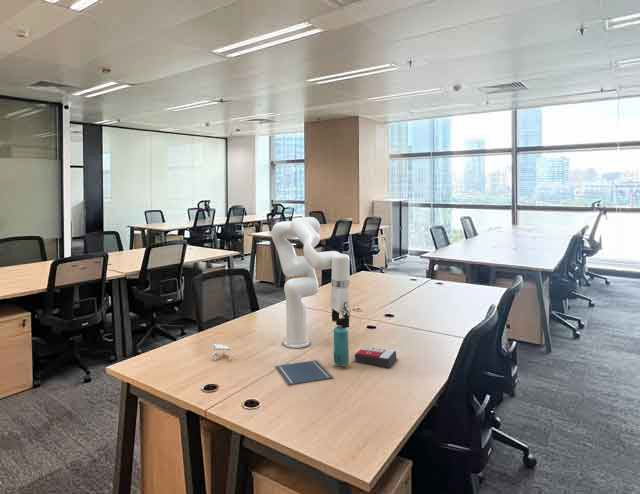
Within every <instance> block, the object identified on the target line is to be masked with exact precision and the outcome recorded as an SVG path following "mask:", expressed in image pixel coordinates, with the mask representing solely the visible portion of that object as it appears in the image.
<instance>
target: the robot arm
mask: <svg viewBox="0 0 640 494" xmlns="http://www.w3.org/2000/svg"><path fill="white" fill-rule="evenodd" d="M320 228H321V224H320V221H319V220H318V219H317V218H316V217H313V216H301V217H296V218H293V219H292V220H285V221H279V222H276V223H274V224H273V226H272V228H271V239H272V242H273V244H274V246H275V249H276V251H277V255H278V259H279V262H280V266H281V270H282V273H283V275H284V276H285V277H294V278H290V279H288V280H287V281H286V282H285V283H284V286H283V291H284V297H285V305H286V306H285V309H286V338H285V339H284V340H283V345H284V346H285V347H287V348H291V349H302V348H306V347H308V346H309V345H310V340H309V339H308V338H307V306H306V304H305V302H304V301H303V298H307V297H312V296H316V295H317V294H318V293H319V288H320V287H319V286H320V285H319V281H318V278H317V274H316V271H324V270H329V269H331V288H330V289H331V290H330V300H329V301H330V304H329V306H330V308H331V321H332V322H335V321H336V320H337V319H339V318H340V315H341V318H342V328H347V329H349V328H350V317H351V312H352V310H351V308H350V306H351V305H350V304H351V303H350V289H349V288H350V280H351V279H350V277H351V276H350V274H351V273H350V266H351V265H350V259H351V258H350V256H349V254H346V253H341V252H339V251H337V250H328V251H317V250H316V249H315V247H316V246H317V245H319V243H320V241H321V235H320V234H319V232H320ZM295 238H296V239H298V240H299V241H300V242H301V243H302V245H303V248H302V250H303V255H297V253H296V249H295V247H294V245H293V244H292V243H291V241H289V239H295ZM297 276H298V277H297ZM299 276H301V277H299Z"/></svg>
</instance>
